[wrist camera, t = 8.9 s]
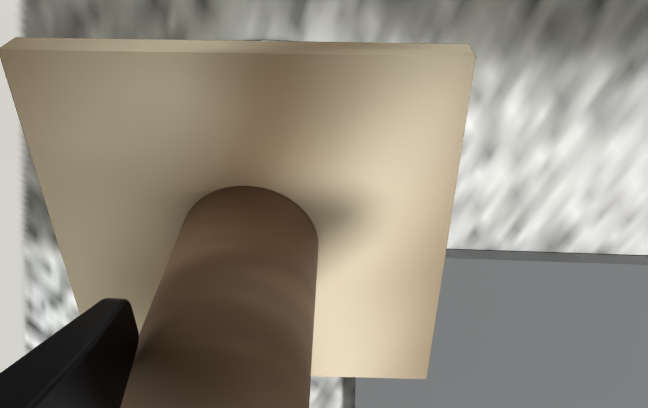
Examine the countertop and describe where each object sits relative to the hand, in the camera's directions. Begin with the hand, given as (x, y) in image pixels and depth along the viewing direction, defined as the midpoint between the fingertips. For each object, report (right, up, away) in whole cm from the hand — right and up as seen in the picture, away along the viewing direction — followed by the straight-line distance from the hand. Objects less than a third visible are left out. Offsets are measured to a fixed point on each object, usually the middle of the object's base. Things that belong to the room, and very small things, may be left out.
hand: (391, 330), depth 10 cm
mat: (+9, -8, +19) cm, 23 cm away
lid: (-3, +1, +6) cm, 7 cm away
